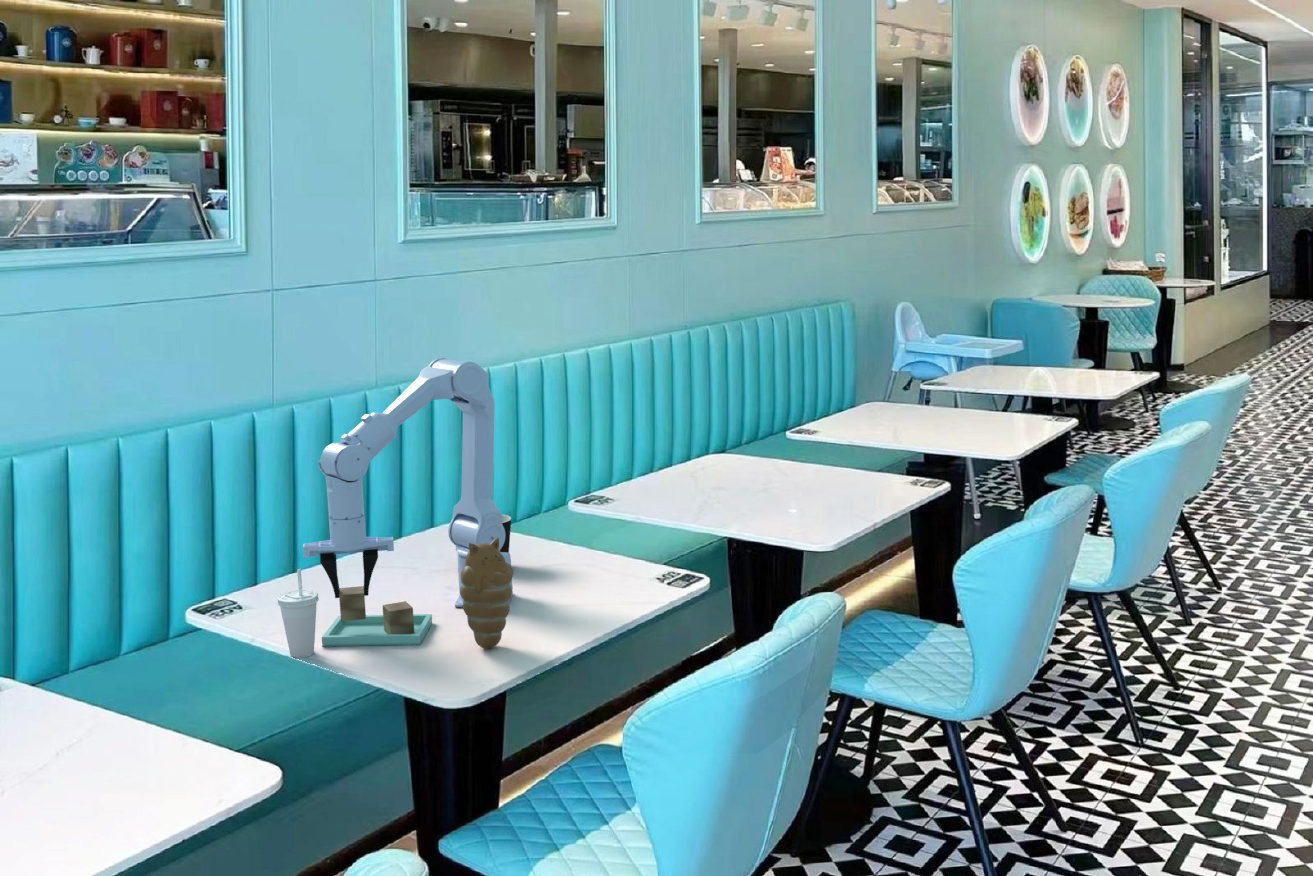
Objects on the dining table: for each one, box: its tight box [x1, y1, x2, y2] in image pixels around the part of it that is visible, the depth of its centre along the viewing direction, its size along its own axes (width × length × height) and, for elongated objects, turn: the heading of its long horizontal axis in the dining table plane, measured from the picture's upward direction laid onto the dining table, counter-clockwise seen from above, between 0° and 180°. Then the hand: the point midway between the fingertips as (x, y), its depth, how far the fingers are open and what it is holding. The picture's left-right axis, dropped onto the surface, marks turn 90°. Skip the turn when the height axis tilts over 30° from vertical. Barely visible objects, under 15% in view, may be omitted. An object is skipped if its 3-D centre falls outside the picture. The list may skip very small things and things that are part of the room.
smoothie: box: [276, 568, 320, 658], centre depth 210 cm, size 6×6×14 cm
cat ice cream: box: [459, 538, 514, 649], centre depth 211 cm, size 9×8×18 cm
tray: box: [321, 613, 433, 648], centre depth 220 cm, size 16×11×2 cm
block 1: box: [338, 585, 367, 621], centre depth 219 cm, size 4×4×4 cm
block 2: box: [382, 600, 414, 635], centre depth 220 cm, size 4×4×4 cm
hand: (351, 595), depth 219 cm, fingers closed on block 1, 4 cm apart
